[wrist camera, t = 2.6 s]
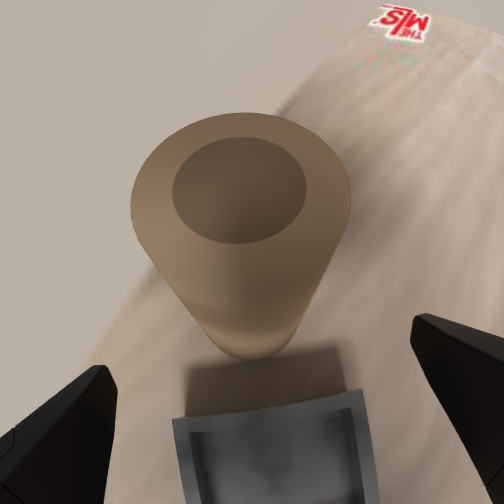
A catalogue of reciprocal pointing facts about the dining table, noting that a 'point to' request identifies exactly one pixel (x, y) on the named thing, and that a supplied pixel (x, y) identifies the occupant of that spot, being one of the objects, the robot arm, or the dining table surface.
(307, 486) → the tray
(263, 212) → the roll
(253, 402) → the dining table surface
